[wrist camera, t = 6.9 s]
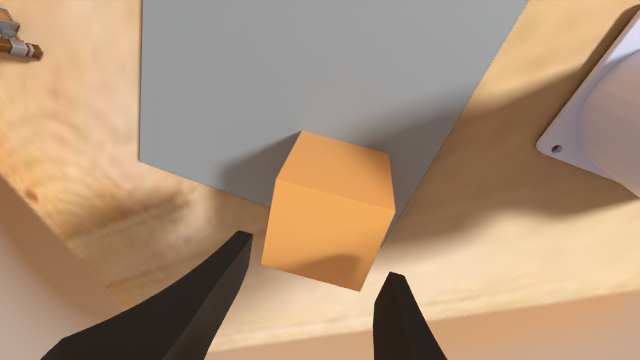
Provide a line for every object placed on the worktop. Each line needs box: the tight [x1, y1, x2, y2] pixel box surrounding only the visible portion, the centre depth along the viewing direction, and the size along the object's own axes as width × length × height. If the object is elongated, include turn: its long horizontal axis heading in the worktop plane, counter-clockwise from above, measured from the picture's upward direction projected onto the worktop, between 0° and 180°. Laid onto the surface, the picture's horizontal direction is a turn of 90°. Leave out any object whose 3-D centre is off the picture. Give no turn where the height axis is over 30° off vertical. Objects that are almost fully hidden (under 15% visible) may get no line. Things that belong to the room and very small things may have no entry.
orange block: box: [261, 131, 396, 292], centre depth 18 cm, size 5×5×6 cm
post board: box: [140, 0, 529, 247], centre depth 16 cm, size 18×18×6 cm
